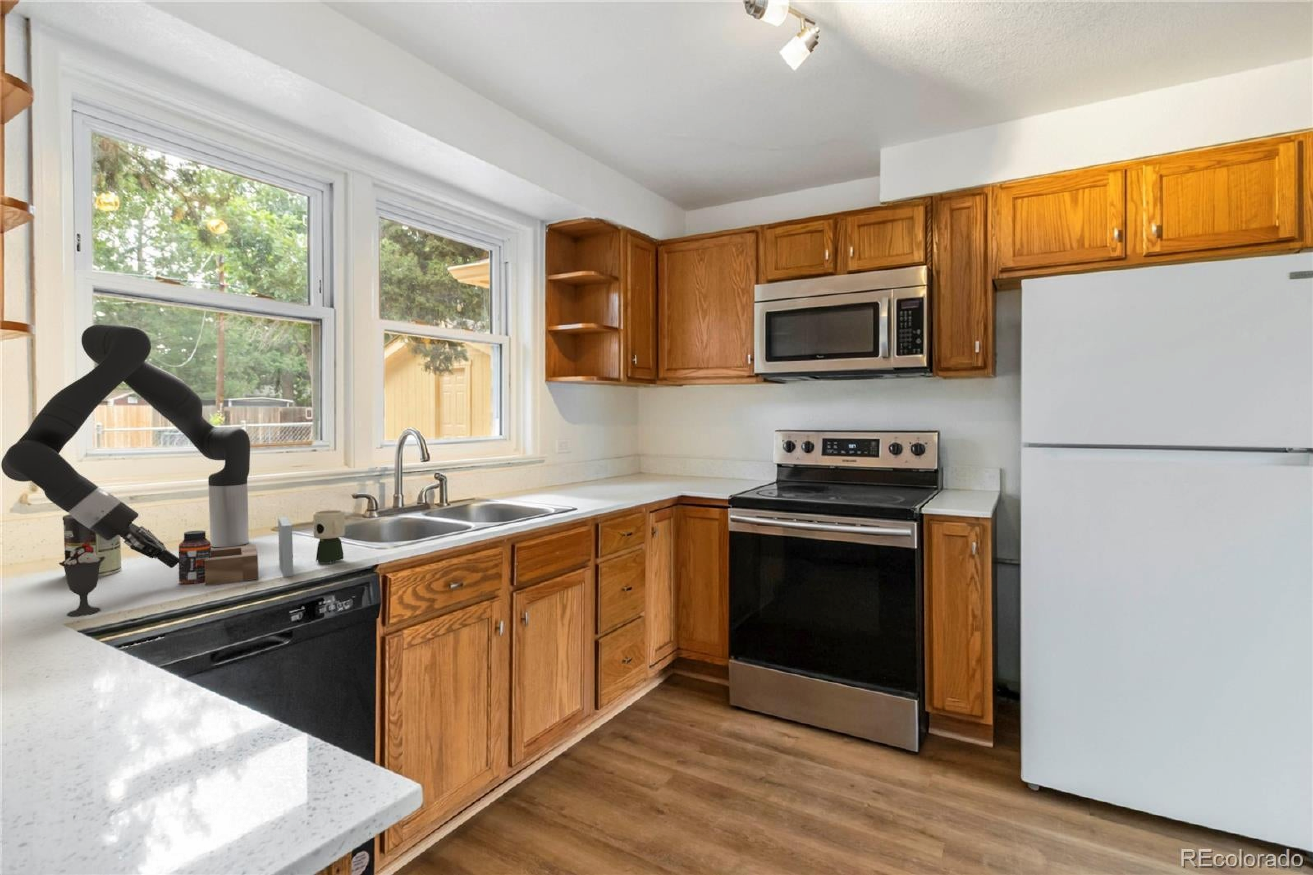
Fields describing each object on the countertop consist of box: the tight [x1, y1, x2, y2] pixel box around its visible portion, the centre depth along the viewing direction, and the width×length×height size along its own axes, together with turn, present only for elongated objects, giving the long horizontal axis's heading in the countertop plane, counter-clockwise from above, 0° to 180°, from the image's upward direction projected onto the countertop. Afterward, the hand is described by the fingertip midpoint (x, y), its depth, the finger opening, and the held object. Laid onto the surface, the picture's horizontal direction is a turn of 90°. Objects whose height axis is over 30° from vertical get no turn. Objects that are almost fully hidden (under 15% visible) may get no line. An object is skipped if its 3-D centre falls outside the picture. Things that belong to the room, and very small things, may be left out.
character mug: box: [312, 509, 346, 564], centre depth 165 cm, size 11×7×13 cm, turn 46°
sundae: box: [58, 535, 105, 617], centre depth 125 cm, size 7×7×15 cm
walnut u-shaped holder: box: [204, 544, 259, 586], centre depth 151 cm, size 13×10×6 cm
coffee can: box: [62, 513, 123, 578], centre depth 153 cm, size 10×10×14 cm
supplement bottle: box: [178, 530, 212, 585], centre depth 146 cm, size 6×6×11 cm
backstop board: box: [277, 516, 294, 578], centre depth 157 cm, size 13×2×12 cm, turn 34°
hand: (176, 564), depth 145 cm, fingers closed
